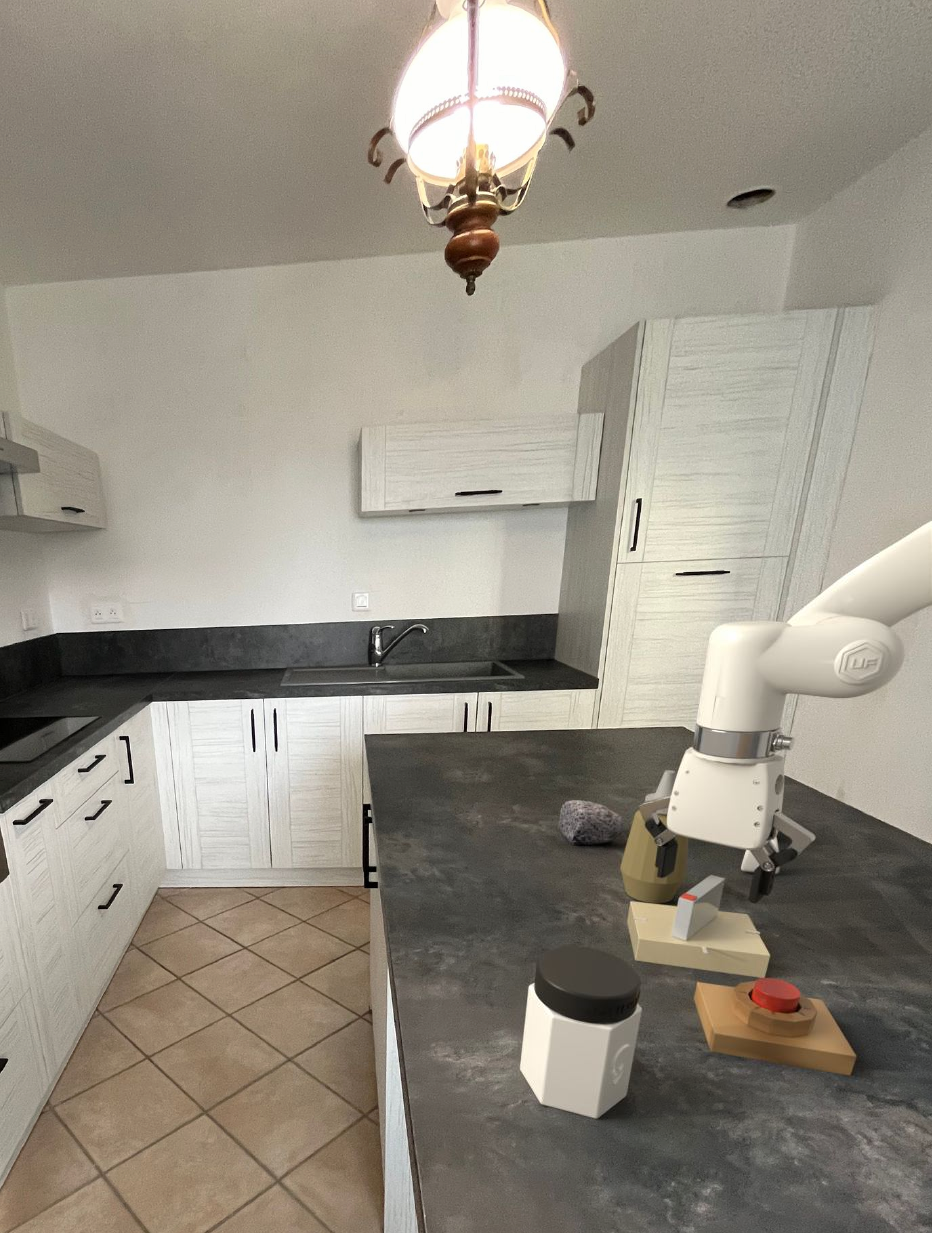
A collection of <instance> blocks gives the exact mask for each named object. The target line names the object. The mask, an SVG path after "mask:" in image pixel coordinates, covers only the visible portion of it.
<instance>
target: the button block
mask: <svg viewBox="0 0 932 1233" xmlns="http://www.w3.org/2000/svg"><path fill="white" fill-rule="evenodd" d="M755 982H756V980H751V981H744V982H739V983H738V984H737V985H736V986H729V985H722V984H715V983H707V982H701V981H697V982H696V987H695V991H694V996H693V1001H694V1004H695V1007H696V1010H697V1013H698V1016H699V1019H700V1023H701V1025H702V1029H703V1032H704V1035H705V1039H706V1041H707V1044H708V1047H709V1050H710V1052H711V1053H716V1054H723V1055H729V1056H735V1057H739V1058H740V1057H741V1058H746V1059H752V1060H757V1061H764V1062H768V1063H769V1062H770V1063H775V1064H781V1065H787V1066H793V1067H798V1068H802V1069H803V1068H805V1069H810V1070H816V1071H822V1072H827V1073H833V1074H839V1075H845V1076H851V1075H852V1072H853V1069H854V1066H855V1063H856V1060H857V1055H856V1052H855V1051H854V1050H853V1048H852V1046H851V1045H850V1043H849V1041H848V1040H847V1038H846V1036H845V1035H844V1033H843V1031H842V1030H841V1028H840V1027H839V1025H838V1023H837V1022H836V1020H835V1019H834V1017H833V1015H832V1014H831V1012H830V1011H829V1008H828V1007H827V1005H826V1004H825V1002H824V1001H823V999H819V998H813V997H812V998H811V997H806V996H805V995H803V994H801V995H800V999H799V1003H798V1006H797V1010H796V1012H795V1013H790V1014H785V1013H778V1012H773V1011H770V1010H767V1009H765V1008H762V1007H760V1006H758V1005H757V1004H756V1003H754V1002H753V1001H752V999H751V997H752V993H753V989H754V985H755Z"/></svg>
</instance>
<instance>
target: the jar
mask: <svg viewBox="0 0 932 1233" xmlns="http://www.w3.org/2000/svg"><path fill="white" fill-rule="evenodd" d="M535 965H536V966H535V975H534V982H533V983H531V984H529V985H528V989H527V990H528V991H527V1000H526V1008H525V1017H524V1018H525V1019H524V1027H523V1037H522V1046H521V1054H520V1055H521V1056H520V1062H519V1063H520V1065H519V1070H520V1072H521V1074H522V1075H523V1077H524V1079H525V1080H526V1082H527V1084H528V1085H529V1087H530V1089H531V1090H532V1092H533V1094H534V1095H535V1097H536V1099H537V1100H538V1102H539V1103H540V1104H541V1105H542V1106H546V1107H550V1108H554V1109H557V1110H560V1111H564V1112H569V1113H572V1114H577V1115H580V1116H583V1117H588V1118H590V1119H591V1118H592V1119H595V1120H596V1119H599V1118H600V1117H602V1116H603V1115H604V1114H605V1113H607V1112H608V1111H609V1110H611V1109H612V1108H613V1107H614V1106H616V1105H617V1104H618V1103H619V1102H621V1101H622V1100H623V1099H624V1098H625V1097H627V1094H628V1090H629V1083H630V1079H631V1078H630V1077H631V1072H632V1066H633V1062H634V1056H635V1050H636V1046H637V1040H638V1033H639V1028H640V1024H641V1018H642V1013H643V1009H642V1007H641V1005H640V1004H639V1002H640V997H641V984H642V981H641V980H642V979H641V976H640V974H639V972H638V971H637V969H636V968H634V967H633V966H632V965H631V963H629V962H628V961H626V960H624V959H622V958H620V957H619V956H617V955H615V954H613V953H610V952H607V951H604V950H601V949H597V948H592V947H586V946H576V945H575V946H574V945H572V946H571V945H570V946H559V947H553V948H551V949H548V950H547V951H545V952H543V953H541V955H540V956H539V957H538V958H537V961H536V964H535Z"/></svg>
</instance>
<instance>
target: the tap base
mask: <svg viewBox="0 0 932 1233" xmlns="http://www.w3.org/2000/svg"><path fill="white" fill-rule="evenodd" d="M677 906H678V905H668V904H661V903H648V902H643V901H632V900H631V901H629V908H628V912H627V918H626V923H627V928H628V932H629V937H630V942H631V947H632V951H633V956H634V960H635V961H637V962H644V963H651V964H652V963H653V964H659V965H666V966H673V967H679V968H680V967H681V968H688V969H693V970H694V969H695V970H702V971H710V972H715V973H724V974H731V975H738V976H746V977H754V978H758V979H761V978H766V974H767V970H768V968H769V963H770V958H771V953H770V952H769V950H768V949H767V947H766V944H765V943H764V941H763V940H762V937H761V936H760V935H761V932H760V931H758V930H757V929H756V927H755V925H754V923H753V921H752V919H751V917H750V916H749V914H747V913H741V912H740V913H739V912H730V911H722V910H718V914H717V916H716V917H715V918H713V919H712V920H711V921H710V922H709V923H707V924H706V925H705V926H704V927H702V928H701V929H700V930H699V931H698V932H696V933H695V934H694V935H693V936H691V937H690V938H689V939H688V940H687V941H685V940H682V939H679V938H676V937H673V936H672V932H673V927H674V921H675V916H676V911H677Z"/></svg>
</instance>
